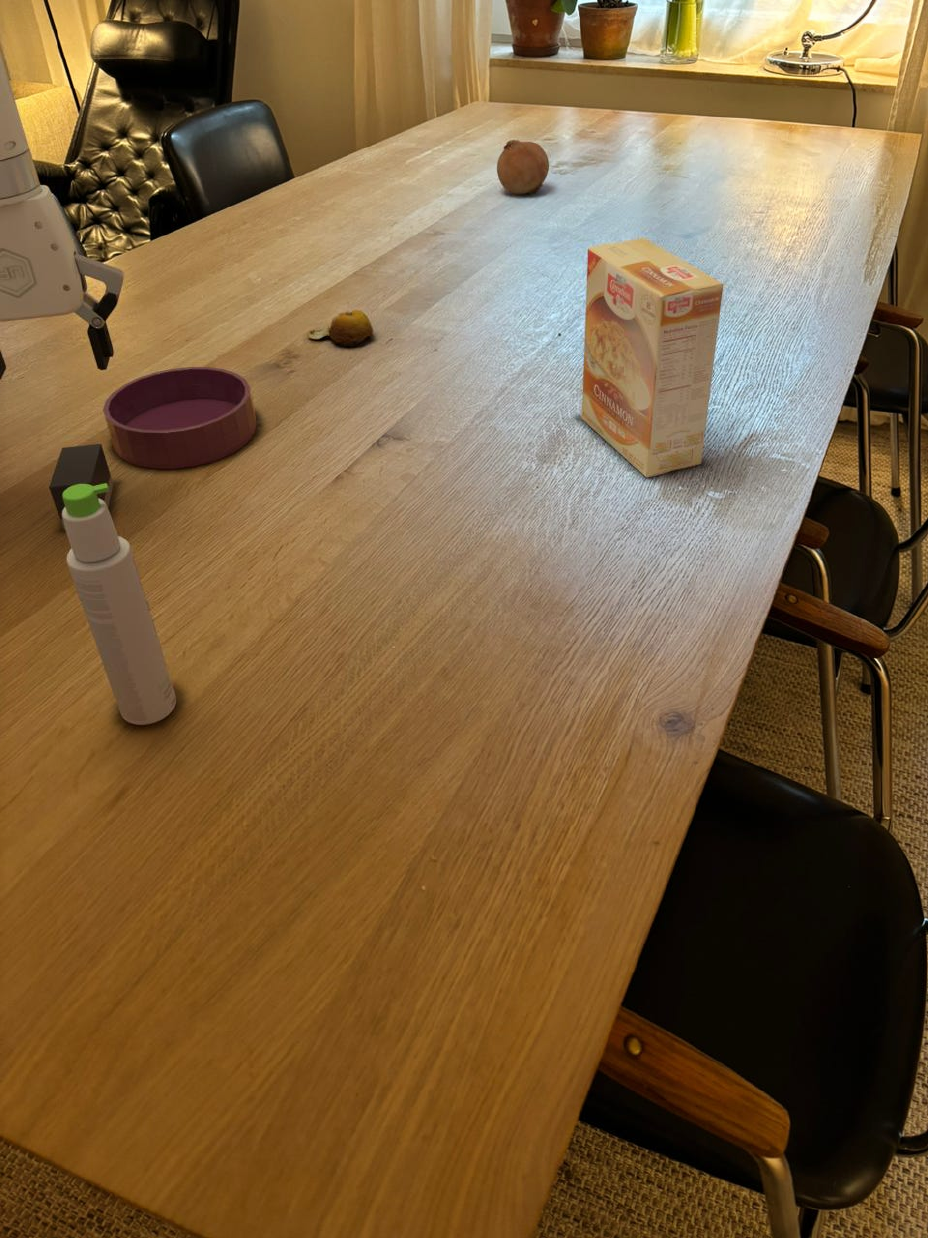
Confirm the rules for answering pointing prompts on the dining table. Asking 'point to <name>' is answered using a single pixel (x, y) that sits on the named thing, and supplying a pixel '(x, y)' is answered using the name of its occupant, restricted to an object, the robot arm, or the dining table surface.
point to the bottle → (116, 607)
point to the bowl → (181, 417)
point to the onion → (522, 167)
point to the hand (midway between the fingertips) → (52, 369)
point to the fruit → (346, 329)
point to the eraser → (80, 473)
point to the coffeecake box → (649, 353)
